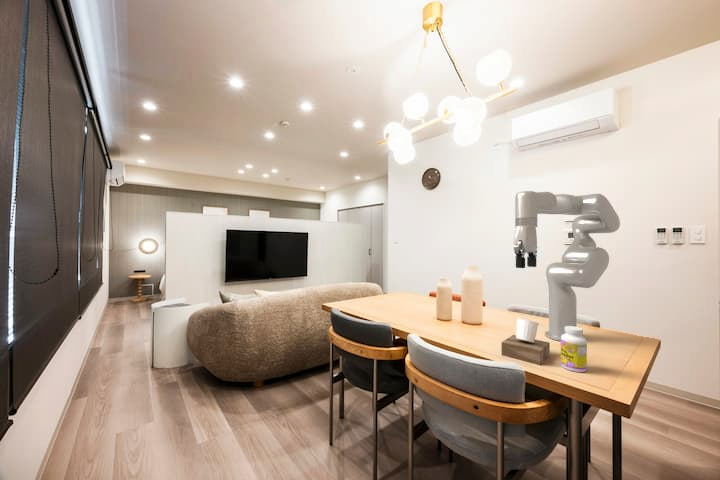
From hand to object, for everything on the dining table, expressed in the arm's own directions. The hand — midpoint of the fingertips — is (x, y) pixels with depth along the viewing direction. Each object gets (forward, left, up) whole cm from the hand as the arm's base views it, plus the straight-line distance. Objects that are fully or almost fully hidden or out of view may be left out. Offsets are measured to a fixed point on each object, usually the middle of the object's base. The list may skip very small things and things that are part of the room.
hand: (526, 267), depth 113 cm
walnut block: (+11, +4, -31) cm, 33 cm away
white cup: (+10, +4, -25) cm, 28 cm away
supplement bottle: (+10, +18, -31) cm, 37 cm away
